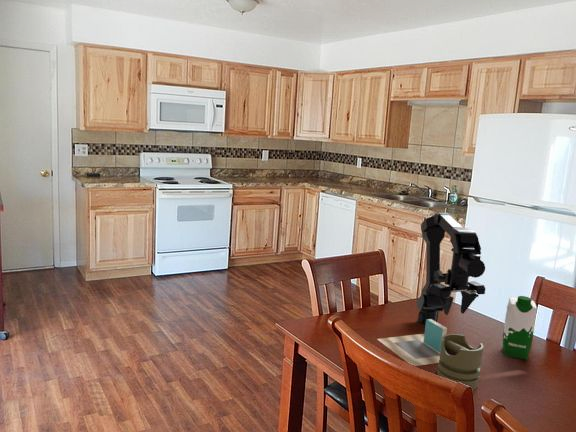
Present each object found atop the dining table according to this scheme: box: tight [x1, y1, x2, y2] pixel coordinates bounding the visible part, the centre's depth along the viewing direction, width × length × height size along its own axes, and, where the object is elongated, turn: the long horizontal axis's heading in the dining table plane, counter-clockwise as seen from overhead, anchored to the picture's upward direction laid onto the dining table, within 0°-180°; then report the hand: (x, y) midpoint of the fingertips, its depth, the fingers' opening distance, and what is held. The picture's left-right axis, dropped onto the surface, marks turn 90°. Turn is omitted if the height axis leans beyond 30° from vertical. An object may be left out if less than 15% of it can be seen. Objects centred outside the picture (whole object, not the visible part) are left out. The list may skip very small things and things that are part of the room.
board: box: [376, 333, 440, 367], centre depth 164 cm, size 22×20×1 cm
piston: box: [436, 333, 484, 391], centre depth 145 cm, size 11×12×11 cm
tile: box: [423, 319, 448, 352], centre depth 165 cm, size 2×8×8 cm, turn 23°
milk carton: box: [502, 295, 538, 361], centre depth 166 cm, size 9×9×20 cm
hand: (454, 313), depth 166 cm, fingers open, 6 cm apart
